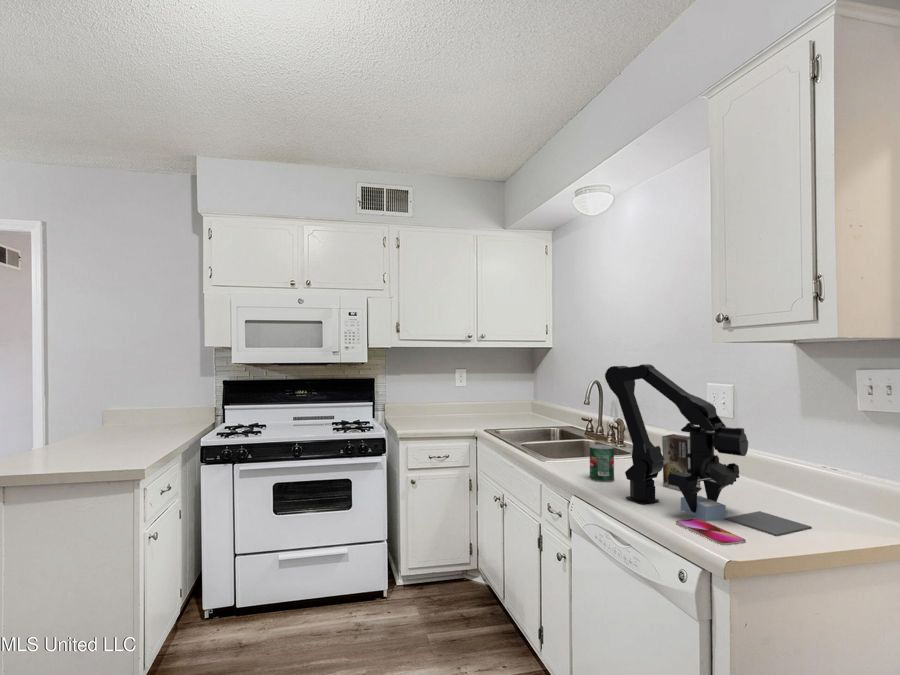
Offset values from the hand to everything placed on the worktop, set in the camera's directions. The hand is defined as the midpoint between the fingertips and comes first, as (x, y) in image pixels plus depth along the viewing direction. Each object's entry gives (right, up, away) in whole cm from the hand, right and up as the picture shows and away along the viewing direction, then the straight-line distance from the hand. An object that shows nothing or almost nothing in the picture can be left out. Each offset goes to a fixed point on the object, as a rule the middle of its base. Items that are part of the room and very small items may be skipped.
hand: (702, 510), depth 132 cm
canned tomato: (-15, -2, +37) cm, 40 cm away
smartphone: (-5, -1, -13) cm, 14 cm away
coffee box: (+6, -2, +26) cm, 26 cm away
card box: (0, -1, 0) cm, 1 cm away
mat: (+12, -1, -7) cm, 14 cm away
